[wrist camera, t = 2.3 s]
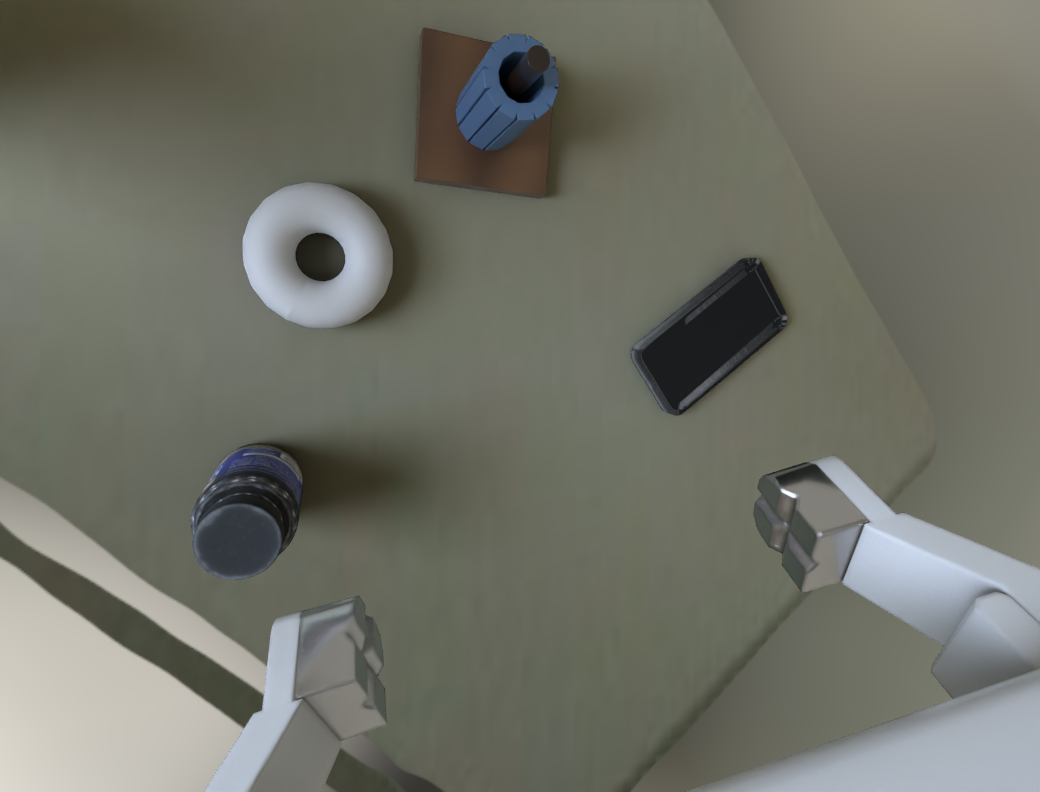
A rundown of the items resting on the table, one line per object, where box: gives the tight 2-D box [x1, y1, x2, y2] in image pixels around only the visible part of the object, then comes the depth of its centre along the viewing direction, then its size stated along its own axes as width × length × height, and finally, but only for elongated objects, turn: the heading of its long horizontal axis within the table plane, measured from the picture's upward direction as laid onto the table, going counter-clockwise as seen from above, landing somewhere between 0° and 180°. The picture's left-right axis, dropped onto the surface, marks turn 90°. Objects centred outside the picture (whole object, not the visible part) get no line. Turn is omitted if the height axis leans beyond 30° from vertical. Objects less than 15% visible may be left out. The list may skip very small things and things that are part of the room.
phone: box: [631, 258, 787, 415], centre depth 52 cm, size 8×1×15 cm
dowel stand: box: [414, 28, 556, 198], centre depth 38 cm, size 10×10×12 cm
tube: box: [456, 34, 559, 151], centre depth 38 cm, size 5×5×8 cm
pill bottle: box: [191, 443, 303, 580], centre depth 38 cm, size 6×6×11 cm
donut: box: [243, 182, 393, 329], centre depth 40 cm, size 10×3×10 cm
